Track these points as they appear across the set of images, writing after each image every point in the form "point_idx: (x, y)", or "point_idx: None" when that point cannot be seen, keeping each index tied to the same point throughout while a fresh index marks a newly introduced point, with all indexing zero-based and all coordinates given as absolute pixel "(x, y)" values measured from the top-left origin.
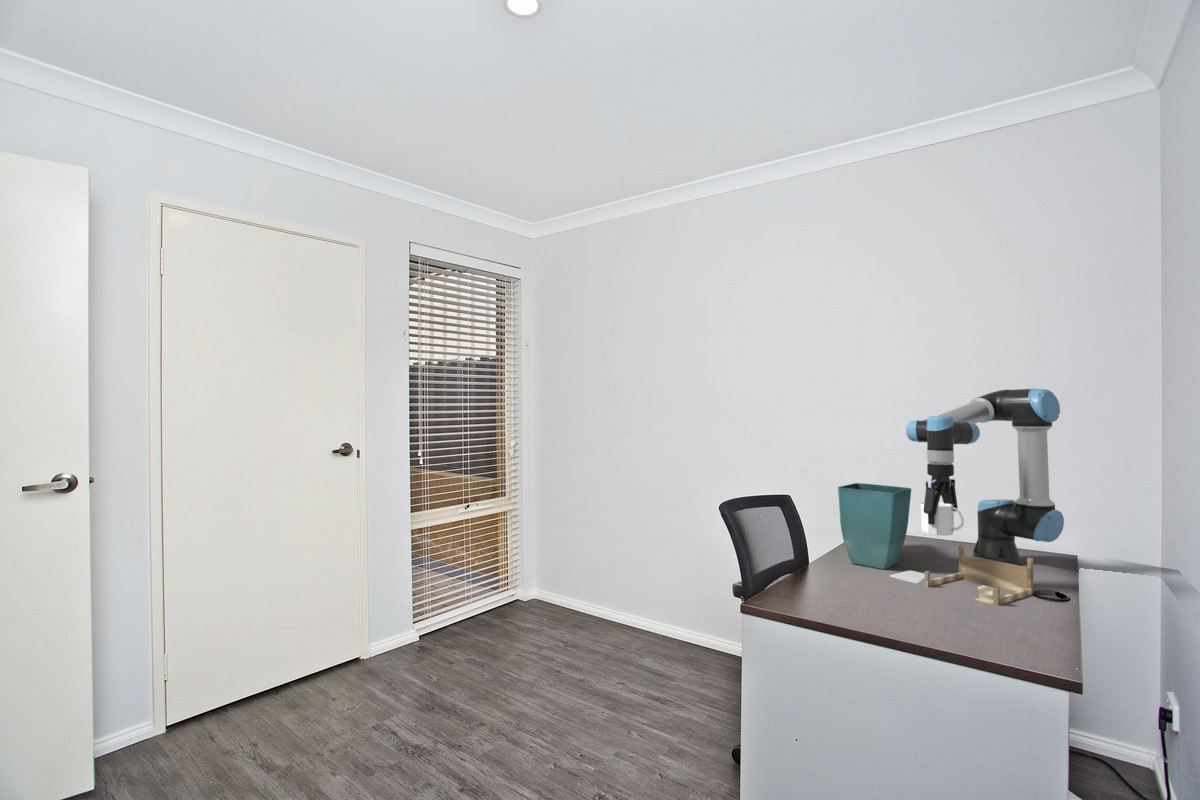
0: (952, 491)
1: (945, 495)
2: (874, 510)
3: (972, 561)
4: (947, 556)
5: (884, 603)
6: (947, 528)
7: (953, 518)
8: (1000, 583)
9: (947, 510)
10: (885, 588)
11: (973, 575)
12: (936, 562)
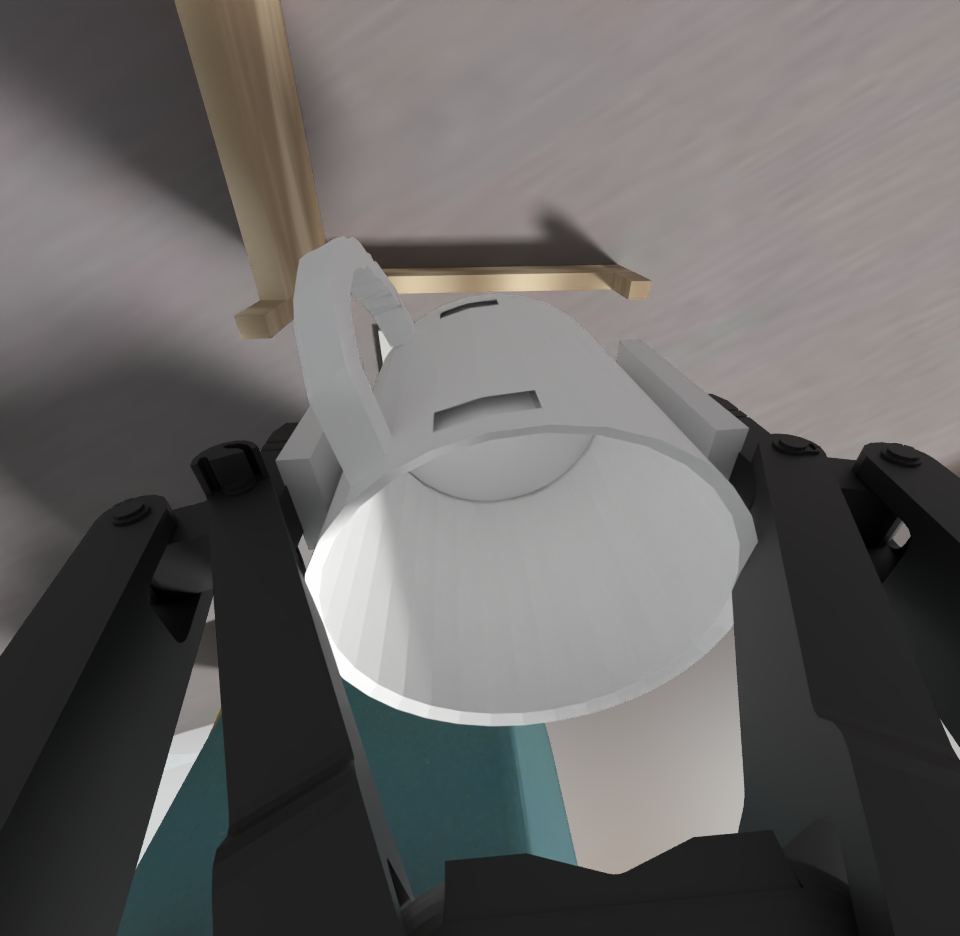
0: (5, 876)
1: (359, 748)
2: (536, 766)
3: (277, 221)
4: (37, 530)
5: (930, 256)
6: (554, 315)
7: (306, 414)
8: (265, 10)
9: (619, 399)
10: (703, 378)
11: (304, 209)
12: (166, 499)
